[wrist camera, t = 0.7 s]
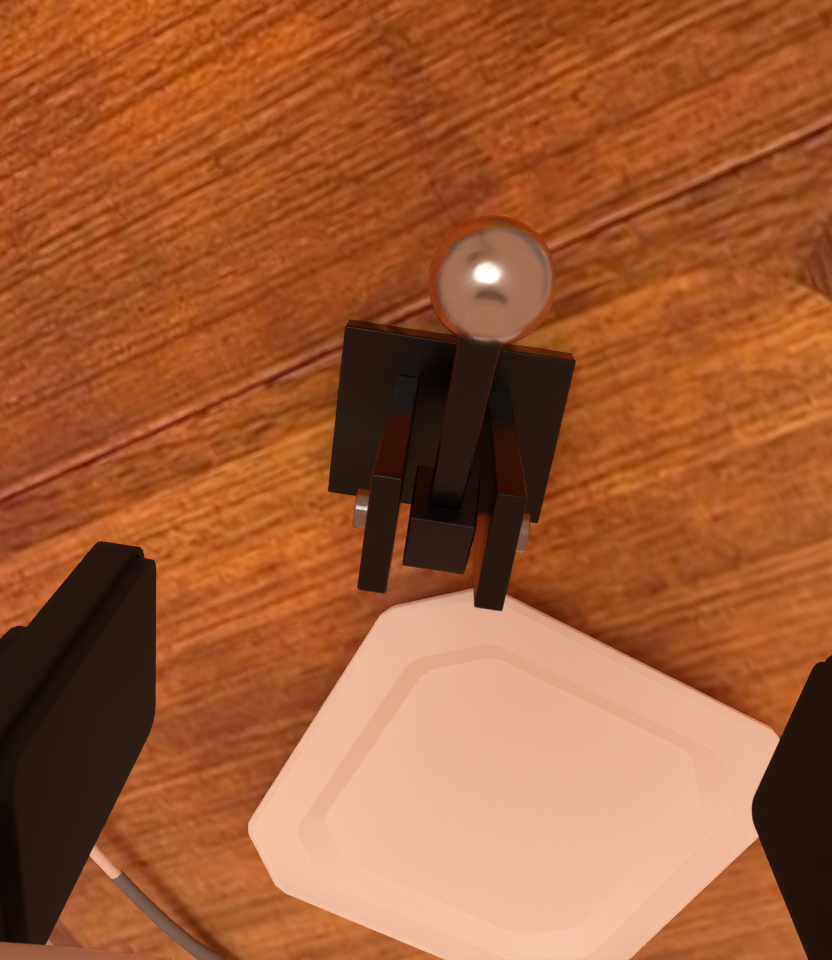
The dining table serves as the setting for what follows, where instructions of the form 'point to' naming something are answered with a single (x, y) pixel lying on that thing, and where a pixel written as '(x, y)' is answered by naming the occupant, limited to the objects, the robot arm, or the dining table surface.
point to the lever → (473, 370)
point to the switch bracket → (415, 438)
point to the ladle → (153, 909)
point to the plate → (509, 789)
